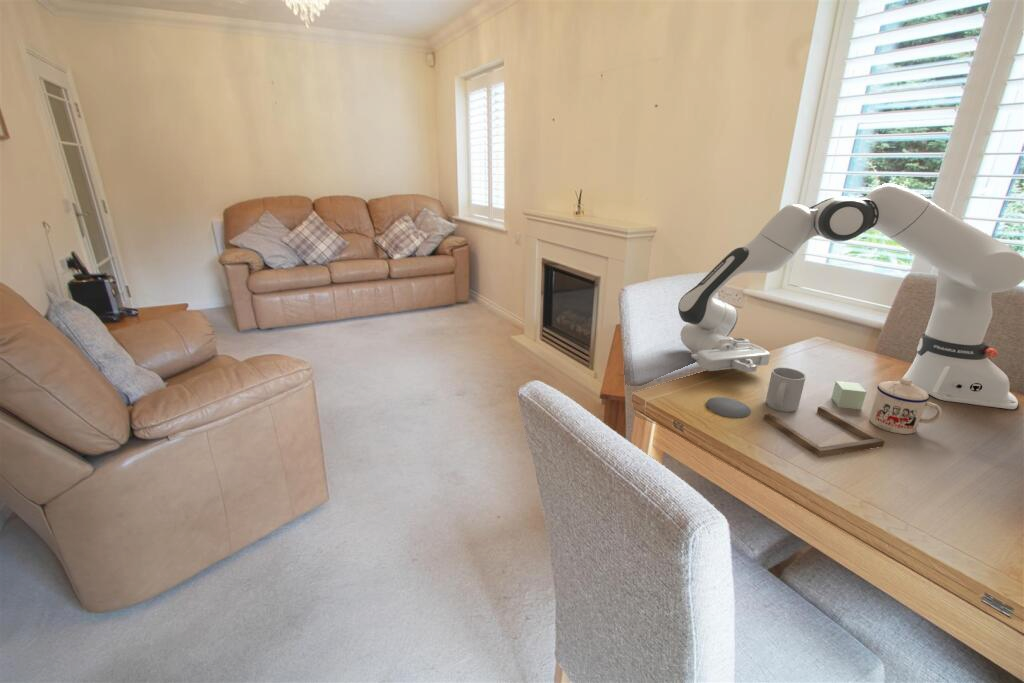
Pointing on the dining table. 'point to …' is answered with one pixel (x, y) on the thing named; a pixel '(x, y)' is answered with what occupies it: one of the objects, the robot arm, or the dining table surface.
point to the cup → (785, 389)
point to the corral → (819, 451)
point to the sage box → (848, 395)
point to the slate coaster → (728, 407)
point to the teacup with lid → (901, 407)
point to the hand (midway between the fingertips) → (752, 369)
